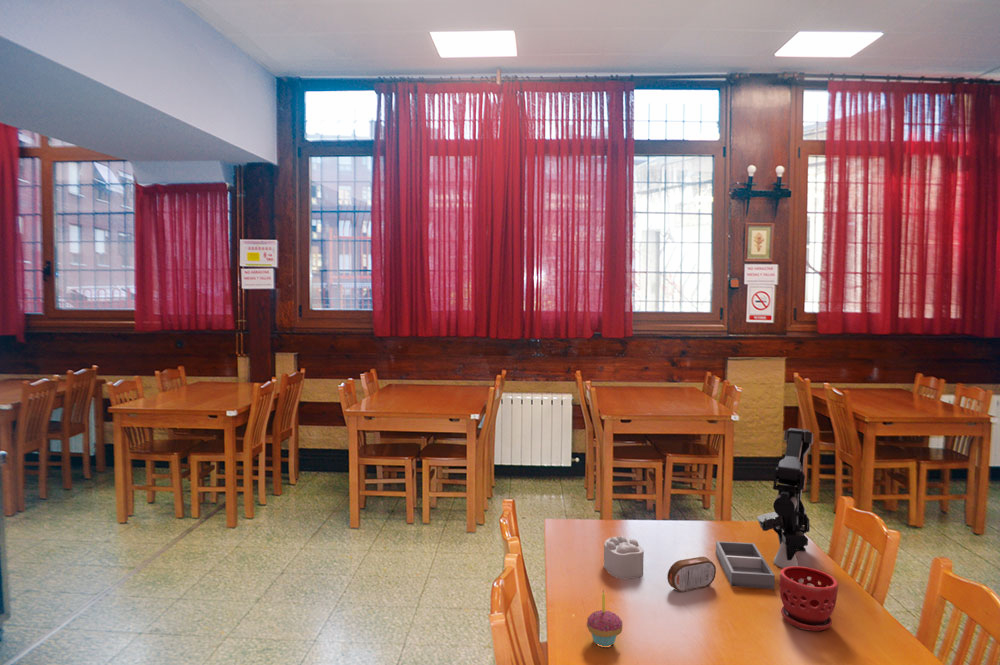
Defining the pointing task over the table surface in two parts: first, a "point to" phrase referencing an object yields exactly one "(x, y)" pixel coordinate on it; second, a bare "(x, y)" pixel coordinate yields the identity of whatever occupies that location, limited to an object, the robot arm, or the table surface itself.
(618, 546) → the lumpy-topped squat cylinder
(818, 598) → the plant pot
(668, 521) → the table surface
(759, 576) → the caddy
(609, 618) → the cupcake
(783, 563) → the flask
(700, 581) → the tin
